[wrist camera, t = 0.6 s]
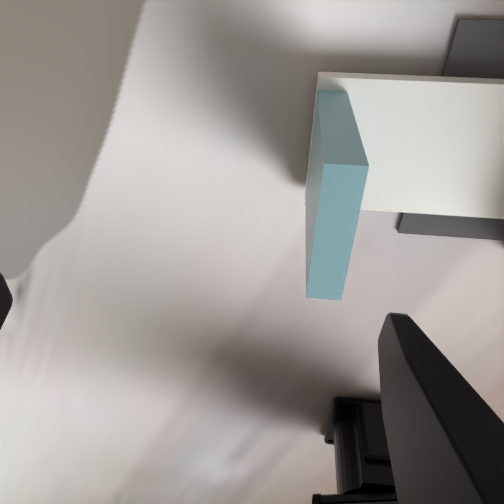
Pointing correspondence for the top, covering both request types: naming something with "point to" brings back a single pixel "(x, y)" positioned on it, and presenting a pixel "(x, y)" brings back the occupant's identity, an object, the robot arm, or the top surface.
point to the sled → (397, 158)
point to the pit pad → (472, 66)
